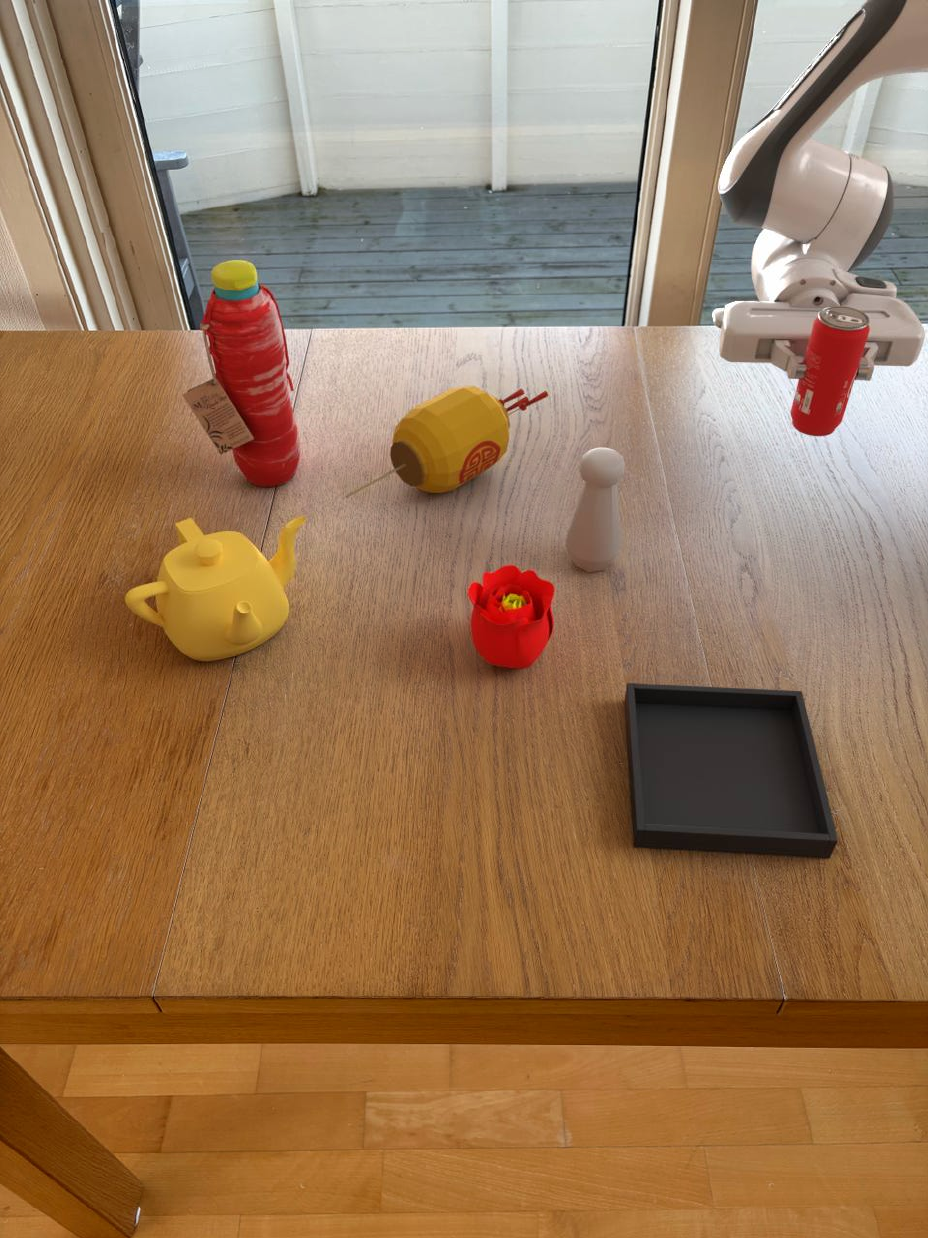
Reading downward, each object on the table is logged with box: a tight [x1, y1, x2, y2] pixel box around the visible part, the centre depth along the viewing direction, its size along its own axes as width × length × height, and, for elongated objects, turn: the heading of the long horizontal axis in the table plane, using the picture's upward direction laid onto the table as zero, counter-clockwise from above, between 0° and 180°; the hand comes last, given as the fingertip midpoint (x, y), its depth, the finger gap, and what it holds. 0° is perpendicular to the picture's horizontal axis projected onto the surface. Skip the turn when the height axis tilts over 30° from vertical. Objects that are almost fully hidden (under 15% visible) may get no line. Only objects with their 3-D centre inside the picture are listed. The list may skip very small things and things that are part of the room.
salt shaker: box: [565, 447, 626, 573], centre depth 95 cm, size 6×6×13 cm
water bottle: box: [181, 259, 302, 488], centre depth 102 cm, size 12×8×25 cm, turn 132°
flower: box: [467, 564, 556, 670], centre depth 87 cm, size 8×8×8 cm
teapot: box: [124, 515, 307, 662], centre depth 90 cm, size 14×13×10 cm
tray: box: [623, 682, 839, 859], centre depth 79 cm, size 15×15×2 cm
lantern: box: [345, 385, 549, 499], centre depth 107 cm, size 10×10×30 cm
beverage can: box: [790, 306, 870, 437], centre depth 95 cm, size 5×5×12 cm
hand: (832, 373), depth 94 cm, fingers closed on beverage can, 5 cm apart
